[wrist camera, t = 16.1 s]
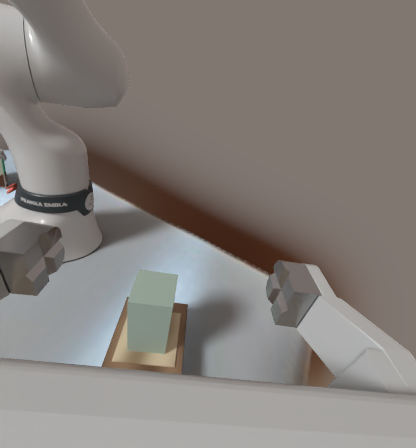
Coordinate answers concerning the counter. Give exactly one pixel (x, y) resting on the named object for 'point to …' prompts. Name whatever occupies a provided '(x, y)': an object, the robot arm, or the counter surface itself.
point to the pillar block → (150, 311)
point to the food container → (3, 170)
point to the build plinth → (144, 360)
